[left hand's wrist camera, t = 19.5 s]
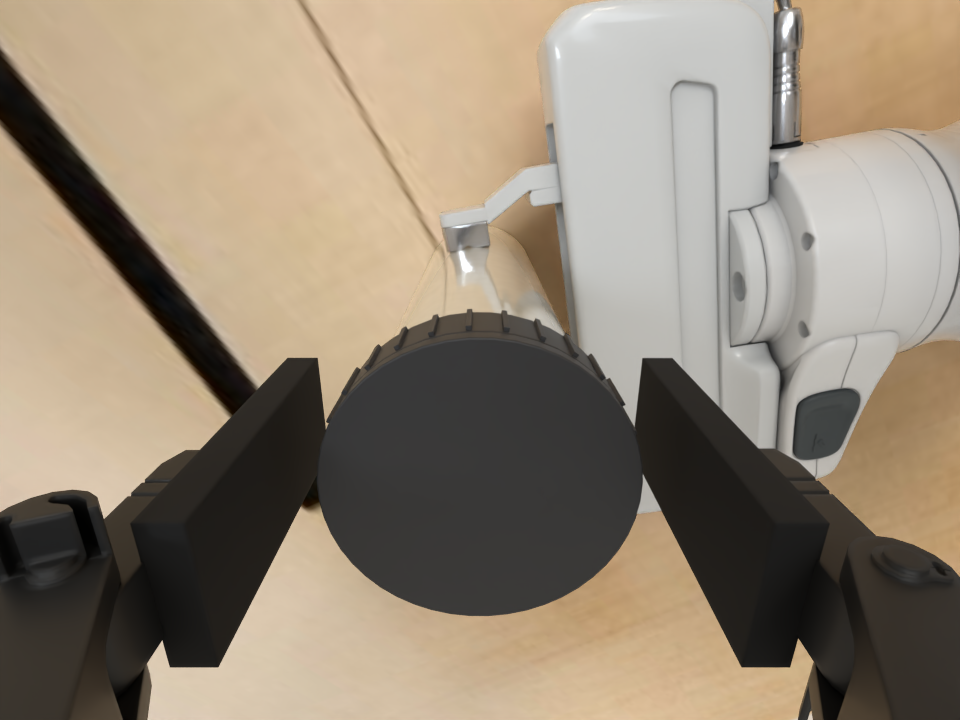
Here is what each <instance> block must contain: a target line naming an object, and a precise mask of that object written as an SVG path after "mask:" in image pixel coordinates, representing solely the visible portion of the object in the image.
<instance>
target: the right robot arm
mask: <svg viewBox="0 0 960 720" xmlns="http://www.w3.org/2000/svg"><path fill="white" fill-rule="evenodd" d="M776 2H777V6H778V10H779V11H778V12H775V13H774V0H603V1H595V2H589V3H583V4H579V5H575V6H572V7H570V8H568V9H566V10H565V11H563V12H562V13H561V14H560V15H559V16H558V17H557V18H556V20H555V21H554V22H553V23H552V25H551V26H550V27H549V29H548V30H547V32H546V33H545V35H544V37H543V39H542V41H541V43H540V45H539V48H538V51H537V63H538V72H539V81H540V89H541V97H542V105H543V114H544V122H545V130H546V139H547V147H548V155H549V163H545V164H540V165H535V166H530V167H524V168H521V169H520V170H518V171H517V172H516V173H515V174H514V175H513V176H512V177H510V178H509V179H508V180H507V181H506V182H505V183H503V184H502V185H501V186H500V187H499V188H498V189H497V190H495V191H494V192H493V193H492V194H491V195H490V196H488V197H487V198H486V199H485V200H484V204H479V205H473V206H468V207H462V208H457V209H451V210H448V211H444V212H441V213H440V214H439V217H440V222H441V227H442V232H443V237H444V242H445V246H446V251H447V252H456V251H460V250H463V249H464V248H465V247H466V246H467V245H468V246H470V247H472V248H479V247H485V246H490V238H489V231H488V224H490V223H491V222H492V221H493V220H494V219H496V218H497V217H498V216H499V215H500V214H502V213H503V212H504V211H505V210H506V209H508V208H509V207H510V206H511V205H512V204H514V203H515V202H516V201H517V200H518V199H520V198H521V197H522V196H523V195H524V194H526V200H527V201H528V202H529V203H530V204H531V205H533V206H534V207H535V206H542V205H548V204H554V205H555V213H556V222H557V230H558V238H559V247H560V255H561V263H562V271H563V280H564V288H565V296H566V305H567V313H568V321H569V330H570V337H571V339H572V341H573V343H574V344H575V345H577V346H578V347H579V348H581V349H582V350H583V351H584V352H585V353H586V354H587V355H589V354H592V355H593V356H594V357H595V359H596V361H597V362H598V364H599V366H600V368H601V370H602V371H603V373H604V375H605V377H606V379H608V378H610V379H611V380H612V382H613V384H614V385H615V387H616V389H617V391H618V392H619V394H620V396H621V397H622V399H623V401H624V403H625V404H626V405H625V406H623V408H624V409H625V411H626V413H627V415H628V416H629V418H630V420H631V422H632V423H633V425H634V427H635V419H636V410H637V401H638V392H639V383H640V375H641V366H642V358H673V359H674V360H675V361H676V362H677V363H678V364H679V365H680V367H681V368H682V369H683V370H684V371H685V372H686V373H687V374H688V375H689V376H690V377H691V378H692V379H693V380H694V381H695V382H696V383H697V384H698V385H699V386H700V388H701V389H702V390H703V391H704V392H705V393H706V394H707V395H708V396H709V397H710V398H711V399H712V400H713V401H714V402H715V403H716V404H717V405H718V406H719V407H720V409H721V410H722V411H723V412H724V413H725V414H726V415H727V416H728V417H729V418H730V419H731V420H732V421H733V422H734V423H735V424H736V425H737V426H738V427H739V428H740V430H741V431H742V432H743V433H744V434H745V435H746V436H747V437H748V438H749V439H750V440H751V441H752V442H753V443H754V444H755V445H756V446H757V447H758V448H775V449H777V450H778V451H780V452H782V453H784V454H786V455H787V456H789V457H791V458H793V459H795V460H796V461H798V462H799V463H801V464H802V465H803V466H804V467H805V468H806V469H807V470H808V471H809V472H810V473H811V474H812V475H813V476H814V477H815V479H817V478H821V477H824V476H826V475H828V474H830V473H831V472H832V471H833V470H834V469H835V468H836V466H837V465H838V463H839V461H840V459H841V457H842V455H843V453H844V451H845V448H846V446H847V444H848V441H849V439H850V437H851V434H852V432H853V430H854V428H855V426H856V423H857V421H858V419H859V417H860V415H861V413H862V411H863V409H864V407H865V405H866V403H867V401H868V399H869V397H870V396H871V394H872V392H873V390H874V389H875V387H876V385H877V383H878V382H879V380H880V379H881V377H882V376H883V374H884V372H885V371H886V369H887V368H888V366H889V365H890V363H891V362H892V360H893V358H894V356H895V354H896V353H900V352H904V351H907V350H909V349H912V348H915V347H917V346H920V345H923V344H926V343H929V342H934V341H941V340H952V341H959V342H960V120H958V121H956V122H954V123H952V124H950V125H947V126H945V127H943V128H940V129H936V130H927V131H924V130H917V129H910V128H883V129H877V130H871V131H866V132H860V133H855V134H849V135H844V136H838V137H833V138H827V139H822V140H816V141H809V142H804V143H803V142H801V110H802V93H801V89H800V87H801V81H799V80H800V73H799V71H800V65H799V63H800V49H802V48H803V41H804V20H803V14H802V10H801V8H800V7H794V8H792V4H791V0H776ZM487 222H488V224H487ZM657 511H661V509H660V507H659V505H658V503H657V501H656V499H655V497H654V495H653V493H652V491H651V489H650V487H649V485H648V483H647V481H646V479H645V477H644V475H643V486H642V494H641V501H640V505H639V508H638V511H637V514H642V513H650V512H657Z"/></svg>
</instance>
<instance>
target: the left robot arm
mask: <svg viewBox="0 0 960 720" xmlns="http://www.w3.org/2000/svg"><path fill="white" fill-rule="evenodd" d="M635 429H636V431H637V435H636V438H637V441H638V444H639V447H640V453H641V458H642V464H643V475H644V477H645V479H646V481H647V483H648V485H649V487H650V489H651V491H652V493H653V495H654V497H655V499H656V501H657V503H658V505H659V507H660V509H661V511H662V513H663V514H664V516H665V518H666V520H667V522H668V524H669V526H670V528H671V530H672V532H673V534H674V536H675V538H676V540H677V542H678V544H679V546H680V548H681V550H682V552H683V554H684V555H685V557H686V559H687V561H688V563H689V565H690V567H691V569H692V571H693V573H694V575H695V577H696V579H697V581H698V583H699V585H700V587H701V589H702V591H703V593H704V595H705V597H706V598H707V600H708V602H709V604H710V606H711V608H712V610H713V612H714V614H715V616H716V618H717V620H718V622H719V624H720V626H721V628H722V630H723V632H724V634H725V636H726V638H727V639H728V641H729V643H730V645H731V647H732V649H733V651H734V653H735V655H736V657H737V659H738V661H739V663H740V665H741V667H790V665H791V662H792V658H793V655H794V651H795V647H796V644H797V640H798V638H799V640H800V641H801V643H802V644H803V646H804V647H805V649H806V650H807V652H808V653H809V655H810V656H811V658H812V659H813V661H814V663H813V666H812V670H811V673H810V676H809V680H808V683H807V686H806V690H805V693H804V697H803V700H802V703H801V707H800V711H799V717H798V720H807V719H808V716H809V713H810V711H812V716H813V720H960V577H959V576H958V575H957V573H956V572H955V571H954V570H953V569H952V567H950V566H949V565H947V564H946V563H945V562H943V561H942V560H940V559H939V558H938V557H936V556H935V555H933V554H931V553H929V552H927V551H925V550H923V549H921V548H919V547H917V546H915V545H912V544H909V543H906V542H903V541H900V540H896V539H893V538H887V537H880V536H876V535H875V534H873V533H872V532H871V531H870V530H869V529H868V528H867V527H866V526H865V525H864V524H863V523H862V522H861V521H860V520H859V519H858V518H857V517H856V516H855V515H854V514H853V513H852V512H851V511H849V510H848V509H847V508H846V507H845V506H844V505H843V504H842V503H841V502H840V501H839V500H838V499H837V498H836V497H835V496H834V495H833V494H829V490H828V489H827V488H826V487H824V486H823V485H822V484H821V483H820V482H819V481H816V480H815V477H814V476H813V475H812V474H811V473H810V472H809V471H808V470H807V469H806V468H805V467H804V466H803V465H802V464H801V463H799V462H798V461H796V460H795V459H793V458H791V457H789V456H787V455H786V454H784V453H782V452H780V451H778V450H777V449H775V448H758V447H757V446H756V445H755V444H754V443H753V442H752V441H751V440H750V439H749V438H748V437H747V436H746V435H745V434H744V433H743V432H742V431H741V430H740V428H739V427H738V426H737V425H736V424H735V423H734V422H733V421H732V420H731V419H730V418H729V417H728V416H727V415H726V414H725V413H724V412H723V411H722V410H721V409H720V407H719V406H718V405H717V404H716V403H715V402H714V401H713V400H712V399H711V398H710V397H709V396H708V395H707V394H706V393H705V392H704V391H703V390H702V389H701V388H700V386H699V385H698V384H697V383H696V382H695V381H694V380H693V379H692V378H691V377H690V376H689V375H688V374H687V373H686V372H685V371H684V370H683V369H682V368H681V367H680V365H679V364H678V363H677V362H676V361H675V360H674V359H673V358H642V366H641V375H640V383H639V392H638V401H637V410H636V419H635ZM325 432H326V427H325V419H324V410H323V401H322V392H321V383H320V375H319V366H318V358H287V359H286V360H285V361H284V362H283V363H282V364H281V365H280V367H279V368H278V369H277V370H276V371H275V372H274V373H273V374H272V375H271V376H270V377H269V378H268V379H267V380H266V381H265V382H264V383H263V384H262V385H261V386H260V388H259V389H258V390H257V391H256V392H255V393H254V394H253V395H252V396H251V397H250V398H249V399H248V400H247V401H246V402H245V403H244V404H243V405H242V406H241V407H240V409H239V410H238V411H237V412H236V413H235V414H234V415H233V416H232V417H231V418H230V419H229V420H228V421H227V422H226V423H225V424H224V425H223V426H222V427H221V428H220V430H219V431H218V432H217V433H216V434H215V435H214V436H213V437H212V438H211V439H210V440H209V441H208V442H207V443H206V444H205V445H204V446H203V447H202V448H201V449H200V450H185V451H183V452H182V453H180V454H178V455H176V456H175V457H173V458H171V459H169V460H167V461H166V462H164V463H162V464H161V465H160V466H159V467H158V468H157V469H156V470H155V471H154V472H153V473H152V474H150V475H149V476H148V477H147V478H146V479H145V483H141V484H140V485H139V486H138V487H137V488H136V489H135V490H134V491H133V492H132V493H131V496H128V497H127V498H126V499H125V500H124V501H123V502H122V503H120V504H119V505H118V506H117V507H116V508H115V509H114V510H113V511H112V512H111V513H110V514H109V515H108V516H107V517H106V518H105V519H104V518H103V515H102V512H101V508H100V505H99V501H98V498H97V497H96V496H95V495H93V494H92V493H90V492H88V491H79V490H67V491H58V492H51V493H48V494H44V495H40V496H37V497H33V498H30V499H27V500H25V501H23V502H20V503H18V504H15V505H13V506H11V507H8V508H7V509H5V510H3V511H2V512H0V720H147V718H148V710H149V703H150V695H151V687H152V685H151V678H150V673H149V670H148V666H147V662H148V661H149V659H150V658H151V656H152V655H153V653H154V652H155V650H156V649H157V647H158V646H159V644H160V643H161V641H162V640H163V644H164V647H165V651H166V655H167V658H168V662H169V665H170V667H219V665H220V663H221V661H222V659H223V657H224V655H225V653H226V651H227V649H228V647H229V645H230V643H231V641H232V639H233V638H234V636H235V634H236V632H237V630H238V628H239V626H240V624H241V622H242V620H243V618H244V616H245V614H246V612H247V610H248V608H249V606H250V604H251V602H252V600H253V598H254V597H255V595H256V593H257V591H258V589H259V587H260V585H261V583H262V581H263V579H264V577H265V575H266V573H267V571H268V569H269V567H270V565H271V563H272V561H273V559H274V557H275V555H276V554H277V552H278V550H279V548H280V546H281V544H282V542H283V540H284V538H285V536H286V534H287V532H288V530H289V528H290V526H291V524H292V522H293V520H294V518H295V516H296V514H297V513H298V511H299V509H300V507H301V505H302V503H303V501H304V499H305V497H306V495H307V493H308V491H309V489H310V487H311V485H312V483H313V481H314V479H315V477H316V475H317V462H318V457H319V449H320V446H321V443H322V440H323V437H324V434H325Z"/></svg>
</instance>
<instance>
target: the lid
mask: <svg viewBox="0 0 960 720" xmlns="http://www.w3.org/2000/svg"><path fill="white" fill-rule="evenodd" d="M625 405H626V404H625V403H624V401H623V399H622V397H621V396H620V394H619V392H618V391H617V389H616V387H615V385H614V384H613V382H612V380H611V379H610V378H608V379H606V377H605V375H604V373H603V371H602V370H601V368H600V366H599V364H598V362H597V361H596V359H595V357H594V356H593V355H592V354H589V355H587V354H586V353H585V352H584V351H583V350H582V349H581V348H579V347H578V346H577V345H575V344H574V343H573V341H572V339H571V337H570V335H568V334H567V333H565V334H564V336H563V335H561V334H559V333H558V332H556V331H554V330H552V329H551V328H549V327H546V326H544V325H542V324H541V321H540V320H539V319H536V318H535V320H534V321H532V320H528V319H525V318H521V317H517V316H513V315H508V314H507V311H505V310H502V312H501V314H500V313H493V312H472V309H467V313H459V314H451V315H447V316H443V317H439V316H438V314H436V315H433V317H432V319H431V320H428V321H426V322H423V323H421V324H418V325H416V326H413V327H411V328H409V329H408V328H407V327H406V326H405V327H403V328H402V329H401V331H400V333H399V335H397V336H395V337H394V338H392V339H391V340H390V341H388V342H387V343H386V344H384V345H383V346H382V347H381V346H380V345H379V344H378V345H377V346H376V347H375V348H374V350H373V352H372V354H371V356H370V358H369V359H368V360H367V361H366V363H365V364H364V365H363V367H362V368H361V369H359V368H356V369H355V370H354V372H353V374H352V376H351V377H350V379H349V381H348V382H347V384H346V386H345V387H344V389H343V391H342V394H341V396H340V398H339V399H338V401H337V403H336V405H335V406H334V408H333V410H332V411H331V413H330V415H329V417H328V419H327V421H326V422H327V423H329V424H328V426H327V429H326V432H325V434H324V437H323V440H322V443H321V446H320V449H319V457H318V462H317V487H318V495H319V501H320V505H321V509H322V512H323V516H324V519H325V521H326V523H327V526H328V528H329V530H330V532H331V534H332V536H333V538H334V539H335V541H336V543H337V544H338V546H339V547H340V549H341V550H342V552H343V553H344V554H345V555H346V556H347V558H348V559H349V560H350V561H351V563H352V564H353V565H354V566H355V567H356V568H358V569H359V570H360V571H361V572H362V573H363V574H364V575H365V576H366V577H367V578H369V579H370V580H371V581H373V582H374V583H375V584H377V585H378V586H379V587H381V588H383V589H384V590H386V591H388V592H390V593H391V594H393V595H395V596H396V597H399V598H401V599H403V600H405V601H408V602H410V603H412V604H415V605H418V606H421V607H424V608H427V609H430V610H435V611H439V612H444V613H449V614H457V615H466V616H493V615H504V614H511V613H516V612H521V611H526V610H529V609H532V608H536V607H539V606H542V605H545V604H547V603H550V602H552V601H554V600H557V599H559V598H561V597H563V596H565V595H567V594H569V593H570V592H572V591H574V590H576V589H577V588H579V587H580V586H582V585H583V584H584V583H586V582H587V581H588V580H590V579H591V578H593V577H594V576H595V575H596V574H597V573H598V572H599V571H600V570H601V569H602V568H603V567H605V566H606V565H607V563H608V562H609V561H610V560H611V559H612V557H613V556H614V555H615V554H616V553H617V551H618V550H619V549H620V547H621V545H622V544H623V542H624V541H625V539H626V538H627V536H628V534H629V532H630V530H631V527H632V525H633V523H634V521H635V518H636V515H637V511H638V508H639V505H640V501H641V494H642V486H643V464H642V458H641V453H640V447H639V444H638V441H637V438H636V435H637V431H636V429H635V427H634V425H633V423H632V422H631V420H630V418H629V416H628V415H627V413H626V411H625V409H624V408H623V406H625Z"/></svg>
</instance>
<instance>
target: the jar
mask: <svg viewBox="0 0 960 720" xmlns="http://www.w3.org/2000/svg"><path fill="white" fill-rule="evenodd" d="M488 231H489V238H490V246H485V247H479V248H472V247H470V246H468V245H467V246H466V247H465V248H464V249H463V250H460V251H456V252H447V251H446V246H445V242H444V240H443V241H442V242H441V243H440V244H439V245H438V247H437V248H436V250H435V252H434V253H433V255H432V257H431V259H430V261H429V264H428V266H427V268H426V270H425V272H424V274H423V276H422V278H421V280H420V282H419V284H418V286H417V289H416V291H415V293H414V295H413V297H412V299H411V301H410V303H409V305H408V307H407V309H406V312H405V314H404V316H403V318H402V320H401V322H400V324H399V326H398V328H397V330H396V332H395V334H394V337H395V336H397V335H399V333H400V331H401V329H402V328H403V327H405V326H406V327H407V328H408V329H409V328H411V327H413V326H416V325H418V324H421V323H423V322H426V321H428V320H431V319H432V317H433V315H436V314H438V316H439V317H443V316H447V315H451V314H459V313H467V309H472V312H493V313H500V314H501V312H502V310H505V311H507V314H508V315H513V316H517V317H521V318H525V319H528V320H532V321H534V320H535V318H536V319H539V320H540V321H541V324H542V325H544V326H546V327H549V328H551V329H552V330H554V331H556V332H558V333H559V334H561V335H563V336H564V334H565V333H564V330H563V328H562V326H561V324H560V322H559V320H558V318H557V316H556V314H555V312H554V309H553V307H552V305H551V303H550V301H549V299H548V297H547V295H546V293H545V291H544V289H543V286H542V284H541V282H540V280H539V278H538V276H537V274H536V272H535V270H534V268H533V266H532V263H531V261H530V259H529V257H528V255H527V253H526V251H525V250H524V248H523V247H522V245H521V244H520V243H519V242H518V241H517V240H516V239H515V238H514V237H513V236H511V235H510V234H509V233H507V232H505V231H503V230H501V229H499V228H496V227H492V226H488ZM394 337H393V338H394Z"/></svg>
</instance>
